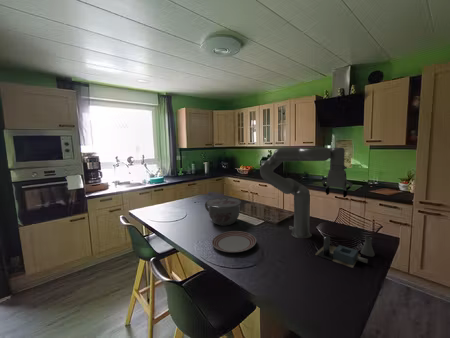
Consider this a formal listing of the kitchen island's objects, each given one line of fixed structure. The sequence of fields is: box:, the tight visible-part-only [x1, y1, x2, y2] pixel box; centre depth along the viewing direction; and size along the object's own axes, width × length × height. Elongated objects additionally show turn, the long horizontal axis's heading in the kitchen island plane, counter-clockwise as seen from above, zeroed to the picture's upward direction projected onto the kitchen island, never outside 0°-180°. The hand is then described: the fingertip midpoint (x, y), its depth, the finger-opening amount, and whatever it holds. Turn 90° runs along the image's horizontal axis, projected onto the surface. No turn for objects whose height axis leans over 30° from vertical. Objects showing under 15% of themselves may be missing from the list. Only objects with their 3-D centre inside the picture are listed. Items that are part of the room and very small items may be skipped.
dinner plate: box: [211, 230, 257, 253], centre depth 130 cm, size 27×27×3 cm
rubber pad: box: [316, 250, 333, 262], centre depth 112 cm, size 7×7×1 cm
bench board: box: [314, 244, 362, 269], centre depth 112 cm, size 18×16×1 cm
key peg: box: [323, 235, 331, 256], centre depth 111 cm, size 3×3×10 cm
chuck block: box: [333, 244, 369, 265], centre depth 107 cm, size 14×9×4 cm, turn 45°
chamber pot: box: [204, 196, 242, 226], centre depth 166 cm, size 28×28×21 cm
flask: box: [360, 236, 376, 257], centre depth 112 cm, size 7×7×10 cm
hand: (336, 195), depth 129 cm, fingers open, 9 cm apart
